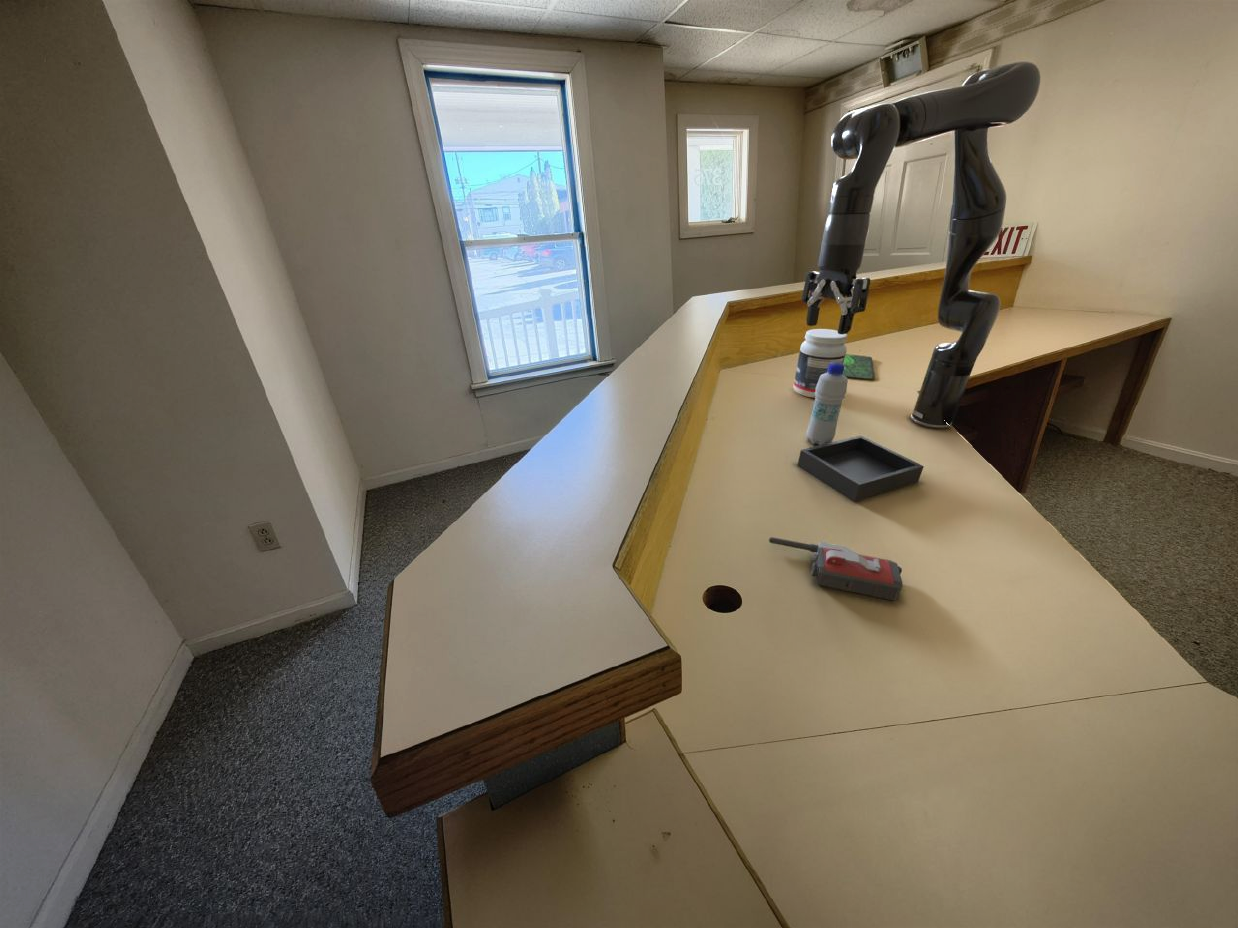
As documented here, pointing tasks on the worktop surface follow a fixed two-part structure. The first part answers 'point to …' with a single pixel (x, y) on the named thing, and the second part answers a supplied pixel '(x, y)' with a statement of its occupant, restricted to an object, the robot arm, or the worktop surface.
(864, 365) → the mouse mat
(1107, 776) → the worktop surface
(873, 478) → the tray
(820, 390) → the bottle
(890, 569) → the walkie-talkie
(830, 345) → the supplement tub
